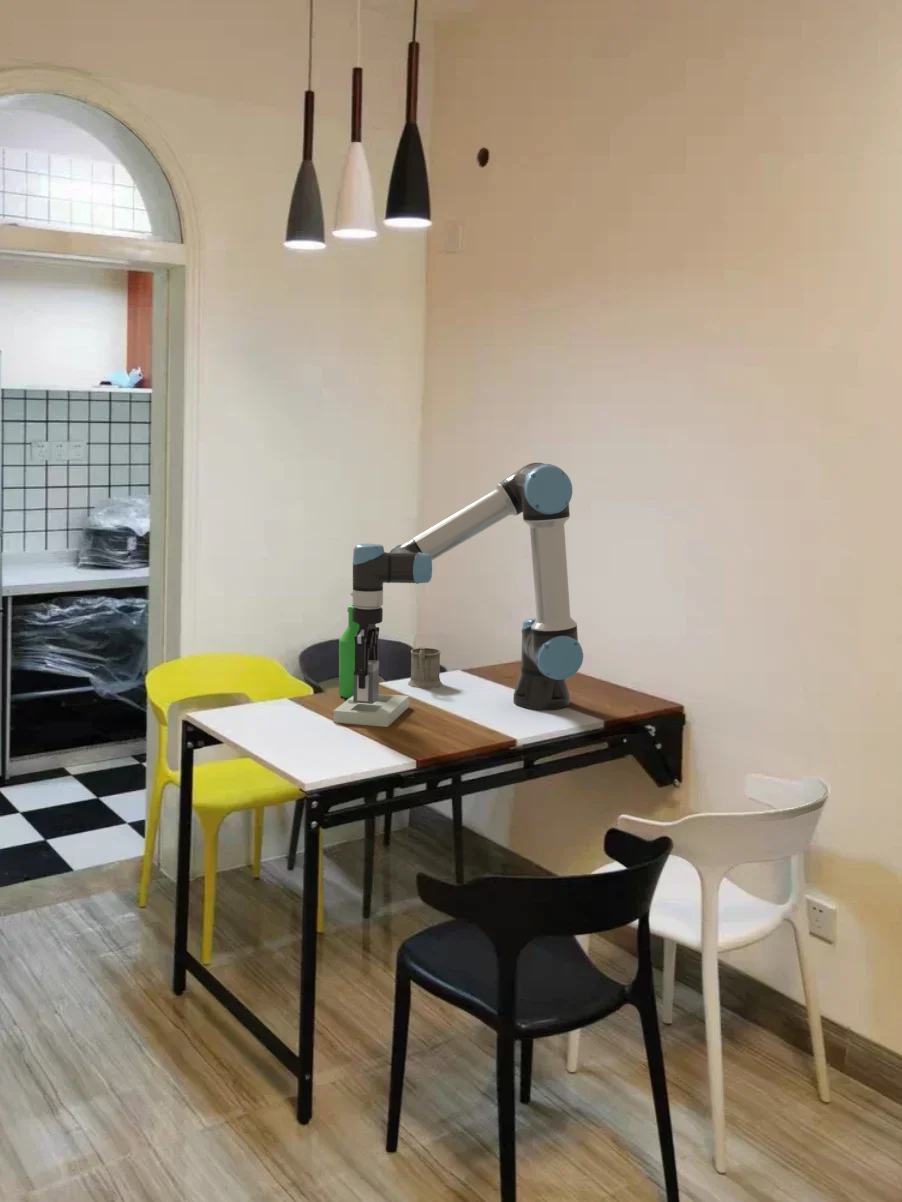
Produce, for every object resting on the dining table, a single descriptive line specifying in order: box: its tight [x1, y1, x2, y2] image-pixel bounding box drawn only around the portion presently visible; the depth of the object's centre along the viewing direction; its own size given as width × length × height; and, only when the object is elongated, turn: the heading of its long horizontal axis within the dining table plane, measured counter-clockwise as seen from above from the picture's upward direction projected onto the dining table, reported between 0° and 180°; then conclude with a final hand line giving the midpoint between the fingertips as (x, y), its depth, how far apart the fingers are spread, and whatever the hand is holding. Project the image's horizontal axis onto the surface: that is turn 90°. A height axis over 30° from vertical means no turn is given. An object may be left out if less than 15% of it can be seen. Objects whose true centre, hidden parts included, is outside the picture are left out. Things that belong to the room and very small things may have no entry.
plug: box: [353, 659, 380, 704], centre depth 283 cm, size 5×5×10 cm
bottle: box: [338, 604, 359, 700], centre depth 306 cm, size 9×9×25 cm
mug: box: [407, 646, 443, 689], centre depth 320 cm, size 14×10×12 cm
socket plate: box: [333, 693, 410, 728], centre depth 289 cm, size 14×20×4 cm
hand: (366, 697), depth 284 cm, fingers closed on plug, 5 cm apart
